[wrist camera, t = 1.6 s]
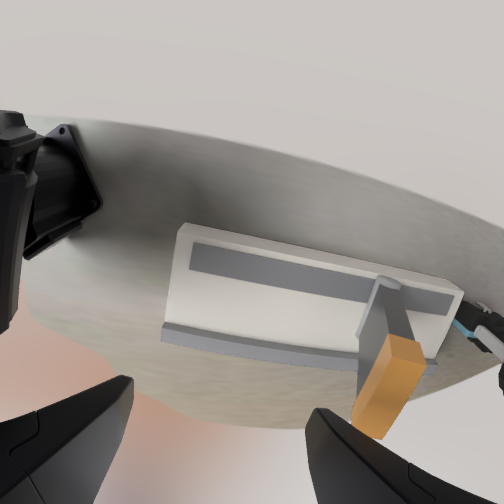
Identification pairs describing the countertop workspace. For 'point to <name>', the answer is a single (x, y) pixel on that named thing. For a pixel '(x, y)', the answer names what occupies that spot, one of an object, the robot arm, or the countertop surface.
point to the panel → (289, 300)
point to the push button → (482, 330)
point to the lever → (385, 360)
